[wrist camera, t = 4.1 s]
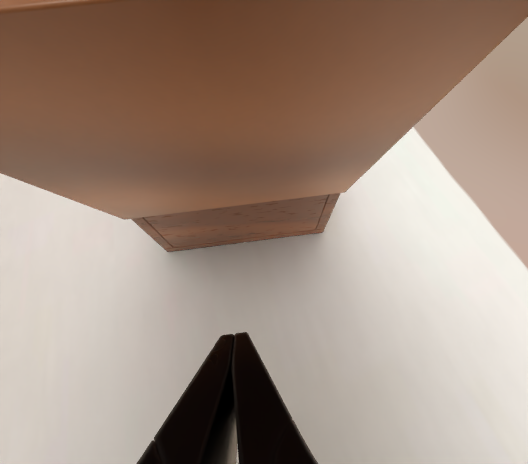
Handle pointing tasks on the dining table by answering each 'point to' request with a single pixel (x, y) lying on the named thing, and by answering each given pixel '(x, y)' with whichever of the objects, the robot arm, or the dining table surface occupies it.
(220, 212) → the bin
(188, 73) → the bin lid
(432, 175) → the dining table surface
